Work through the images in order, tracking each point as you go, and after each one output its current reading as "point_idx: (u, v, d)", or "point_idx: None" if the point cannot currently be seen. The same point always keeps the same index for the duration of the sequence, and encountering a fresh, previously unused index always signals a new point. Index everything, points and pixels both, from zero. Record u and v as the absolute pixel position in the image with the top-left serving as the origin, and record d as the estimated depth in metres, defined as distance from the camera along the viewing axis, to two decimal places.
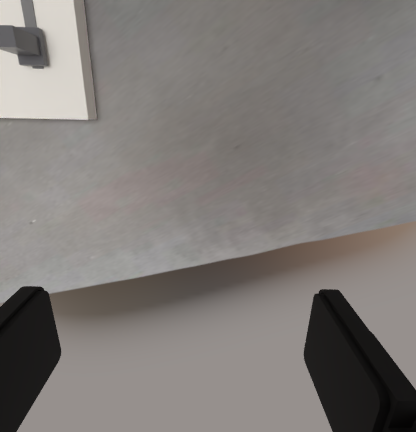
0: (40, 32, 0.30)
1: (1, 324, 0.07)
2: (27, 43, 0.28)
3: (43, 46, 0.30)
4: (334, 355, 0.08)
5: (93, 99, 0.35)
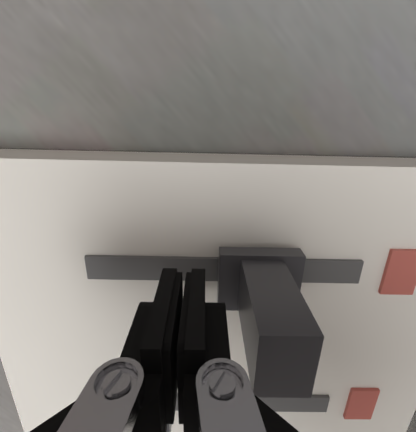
0: None
1: (171, 297, 0.09)
2: None
3: None
4: None
5: None
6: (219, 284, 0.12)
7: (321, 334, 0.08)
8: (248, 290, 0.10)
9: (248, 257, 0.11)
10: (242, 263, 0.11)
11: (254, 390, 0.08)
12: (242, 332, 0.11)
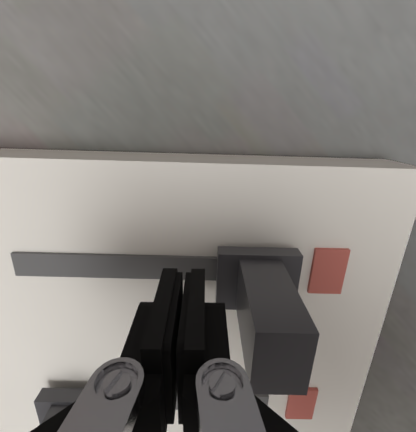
0: None
1: (171, 297, 0.09)
2: None
3: None
4: None
5: None
6: (217, 283, 0.12)
7: (316, 331, 0.08)
8: (245, 288, 0.10)
9: (247, 256, 0.12)
10: (240, 262, 0.11)
11: None
12: (239, 330, 0.11)
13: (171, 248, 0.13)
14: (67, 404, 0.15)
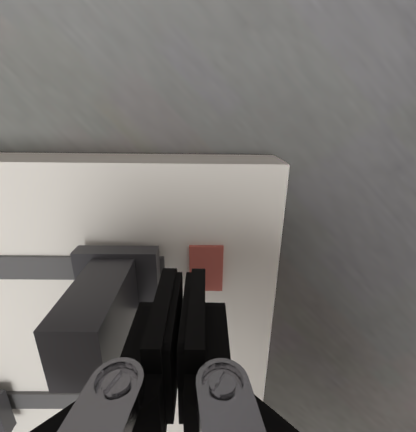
0: None
1: (170, 297, 0.09)
2: None
3: None
4: None
5: None
6: None
7: (96, 330, 0.08)
8: (69, 288, 0.10)
9: (99, 255, 0.12)
10: (90, 261, 0.11)
11: (49, 386, 0.08)
12: None
13: (45, 248, 0.13)
14: None
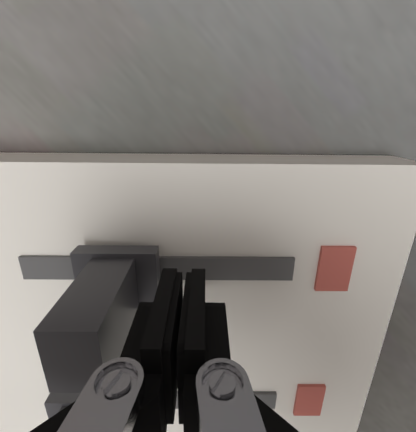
0: None
1: (171, 297, 0.09)
2: None
3: None
4: None
5: None
6: None
7: (96, 329, 0.08)
8: (69, 287, 0.10)
9: (98, 255, 0.12)
10: (90, 261, 0.11)
11: (49, 386, 0.08)
12: None
13: (177, 249, 0.13)
14: None
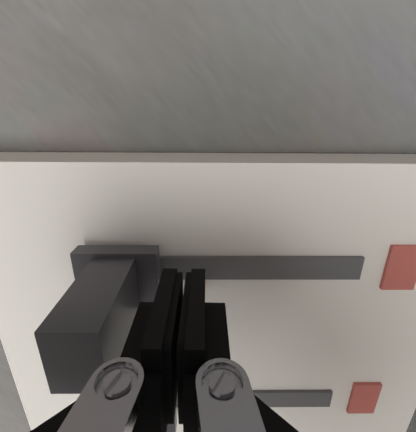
0: None
1: (171, 297, 0.09)
2: None
3: None
4: None
5: None
6: None
7: (97, 330, 0.08)
8: (69, 288, 0.10)
9: (98, 255, 0.12)
10: (90, 261, 0.11)
11: (50, 387, 0.08)
12: None
13: (247, 248, 0.13)
14: None
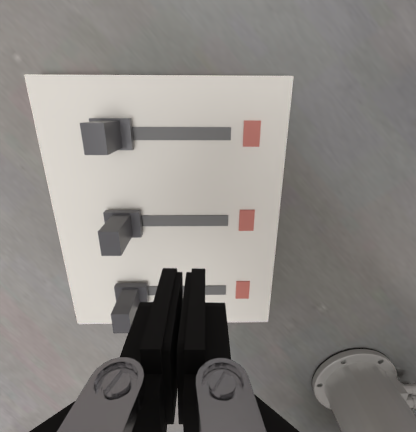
0: None
1: (171, 297, 0.09)
2: None
3: None
4: None
5: None
6: None
7: (103, 122, 0.21)
8: None
9: (102, 119, 0.24)
10: (98, 121, 0.24)
11: (84, 151, 0.21)
12: None
13: (172, 122, 0.26)
14: (120, 214, 0.28)
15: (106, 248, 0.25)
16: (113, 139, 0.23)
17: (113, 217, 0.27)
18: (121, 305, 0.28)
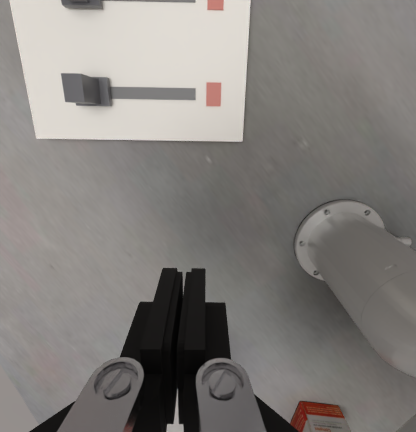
0: None
1: (171, 297, 0.09)
2: None
3: None
4: None
5: None
6: None
7: None
8: None
9: None
10: None
11: None
12: None
13: None
14: None
15: None
16: None
17: None
18: None
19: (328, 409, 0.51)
